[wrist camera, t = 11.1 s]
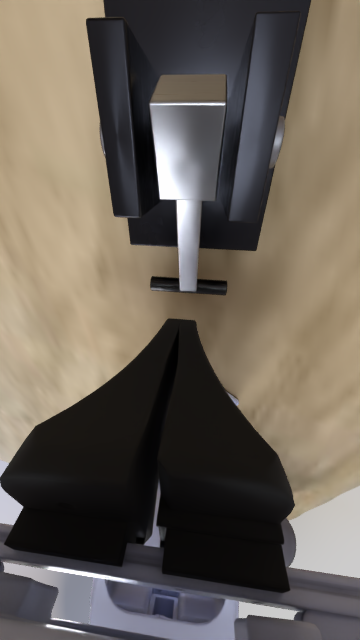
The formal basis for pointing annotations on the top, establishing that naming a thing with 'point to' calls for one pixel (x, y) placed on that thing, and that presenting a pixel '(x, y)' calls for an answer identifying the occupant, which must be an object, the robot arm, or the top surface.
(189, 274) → the tap lever
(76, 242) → the top surface
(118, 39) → the tap bracket
